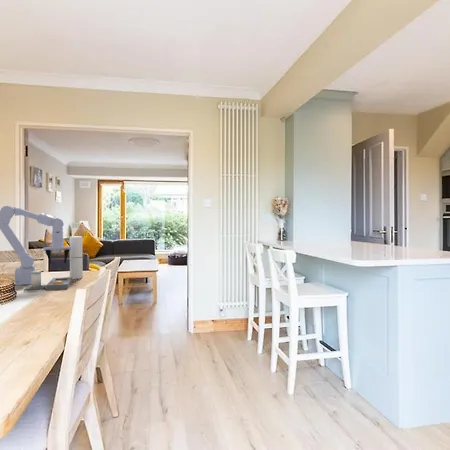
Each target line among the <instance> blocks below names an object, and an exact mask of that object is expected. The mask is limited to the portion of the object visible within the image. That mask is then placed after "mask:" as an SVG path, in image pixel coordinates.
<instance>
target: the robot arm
mask: <svg viewBox="0 0 450 450" xmlns="http://www.w3.org/2000/svg"><path fill="white" fill-rule="evenodd" d="M13 216H16V217H17V216H23V217H27V218H30V219H32V220H36V221H37V223H39V224H40V225H44V226H48V227H52V232H51V237H52V238H51V242H52V243H51V244H52V245H51V246H48V247H47V246H46V247H43V252H45V254H46V256H47V259H48V261H49V265H50V264H52V252H53V251H63V254H64V258H63V259H64V261H63V262H64V264H66V263H67V259H68V256H69V255H70V250H72V247H70V246H64V227H63V226H64V222H63V219H61V218H58V217H56V216H55V215H54V216H52V215H49V214H48V213H46V212H44V213H43V212H42V213H39V214H38V213H35V212H32V211H29V210H26V209H23V208H20V207H13V206H11V205H4V206H2V207H1V208H0V231H1V233H2V235H4V237H5V239H6V240H7V242H8V243H9V244H10V246H11V247H12V249H13V251H14V252H15V253H16V255H17V257H18V258H19V260H20V261H19V262H20V265H21V266H19V267H17V268H15V269H14V286H21V285H22V286H23V285H26V286H27V285H32V280H31V272H32V271H36V269H35V268H36V267H35V265H34V263H35V259H34V257H33V255H31V254H29V253H28V251H27V250H26V248H25V247H24V246H23V244H22V242H21V241H20V239H19V238H18V237H17V235H16V233H14V231H13V229H12V228H11V226H10V225H9V224H10V221H11V219H12V218H13Z"/></svg>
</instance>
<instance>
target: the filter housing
mask: <svg viewBox="0 0 450 450" xmlns="http://www.w3.org/2000/svg"><path fill="white" fill-rule="evenodd" d="M55 281H62V284H54V282H55ZM72 283H73V279H72V277H70V276H69V277H67V276H65V277H52V279H51V280H49V282H48V283H47V284H45V285H46V288H45V289H46V291H55V290H68V289H69V288H70V286H71V285H72Z"/></svg>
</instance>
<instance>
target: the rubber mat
mask: <svg viewBox="0 0 450 450" xmlns="http://www.w3.org/2000/svg"><path fill="white" fill-rule="evenodd" d="M46 285H47V284H41V287H38V288H32V285H26V287H25V288H24V291H35V290H36V291H37V290H40V289H41V290H45V289H46Z"/></svg>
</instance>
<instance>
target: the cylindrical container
mask: <svg viewBox="0 0 450 450" xmlns="http://www.w3.org/2000/svg"><path fill="white" fill-rule="evenodd" d="M69 247H72V250H70V252H69V277H72V280H79V279H83V277H84V276H83V274H84V273H83V270H84V269H83V265H84V264H83V260H84V259H83V256H84V255H83V235H82V236H81V235H79V236H78V235H77V236H74V235H73V236H69Z"/></svg>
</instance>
